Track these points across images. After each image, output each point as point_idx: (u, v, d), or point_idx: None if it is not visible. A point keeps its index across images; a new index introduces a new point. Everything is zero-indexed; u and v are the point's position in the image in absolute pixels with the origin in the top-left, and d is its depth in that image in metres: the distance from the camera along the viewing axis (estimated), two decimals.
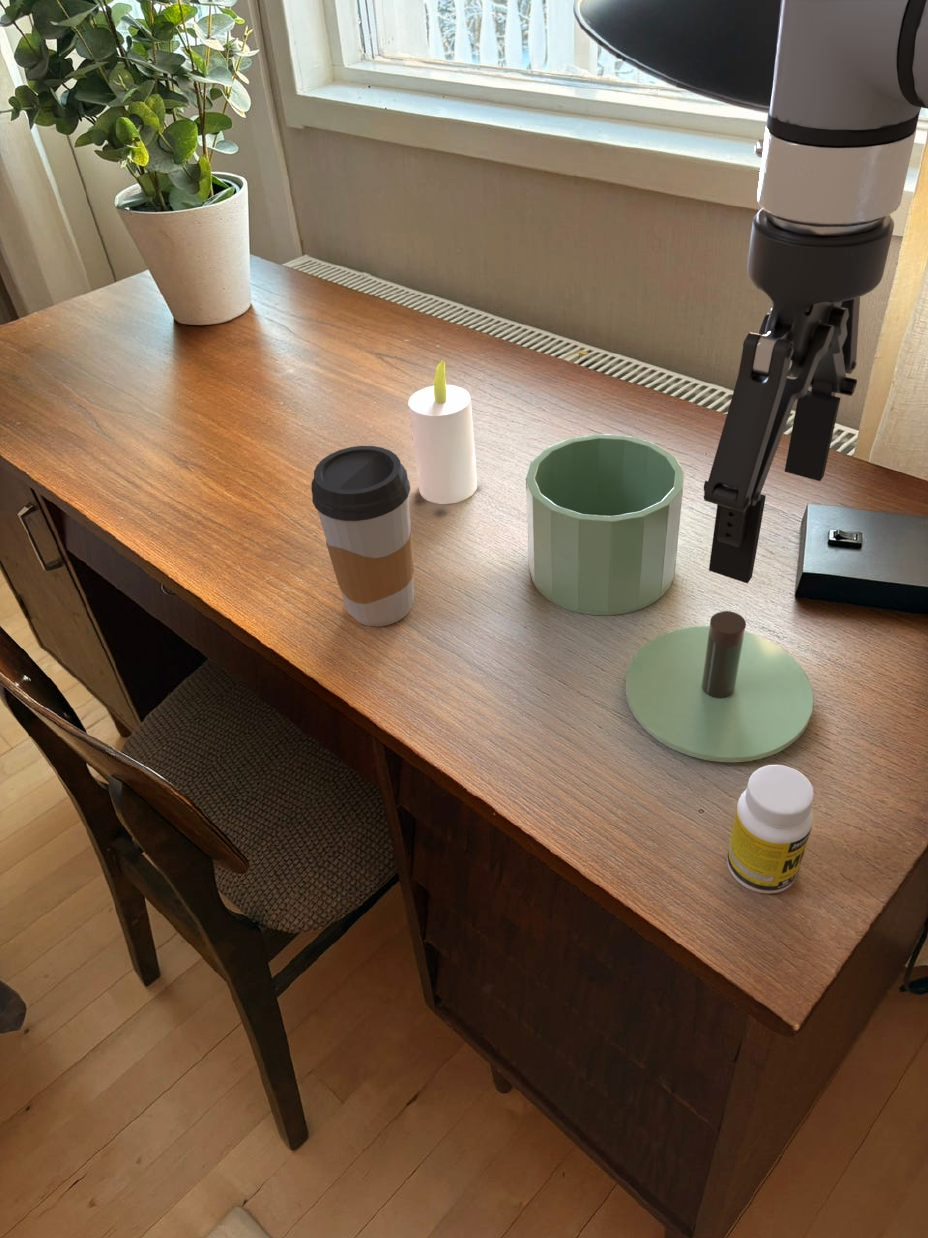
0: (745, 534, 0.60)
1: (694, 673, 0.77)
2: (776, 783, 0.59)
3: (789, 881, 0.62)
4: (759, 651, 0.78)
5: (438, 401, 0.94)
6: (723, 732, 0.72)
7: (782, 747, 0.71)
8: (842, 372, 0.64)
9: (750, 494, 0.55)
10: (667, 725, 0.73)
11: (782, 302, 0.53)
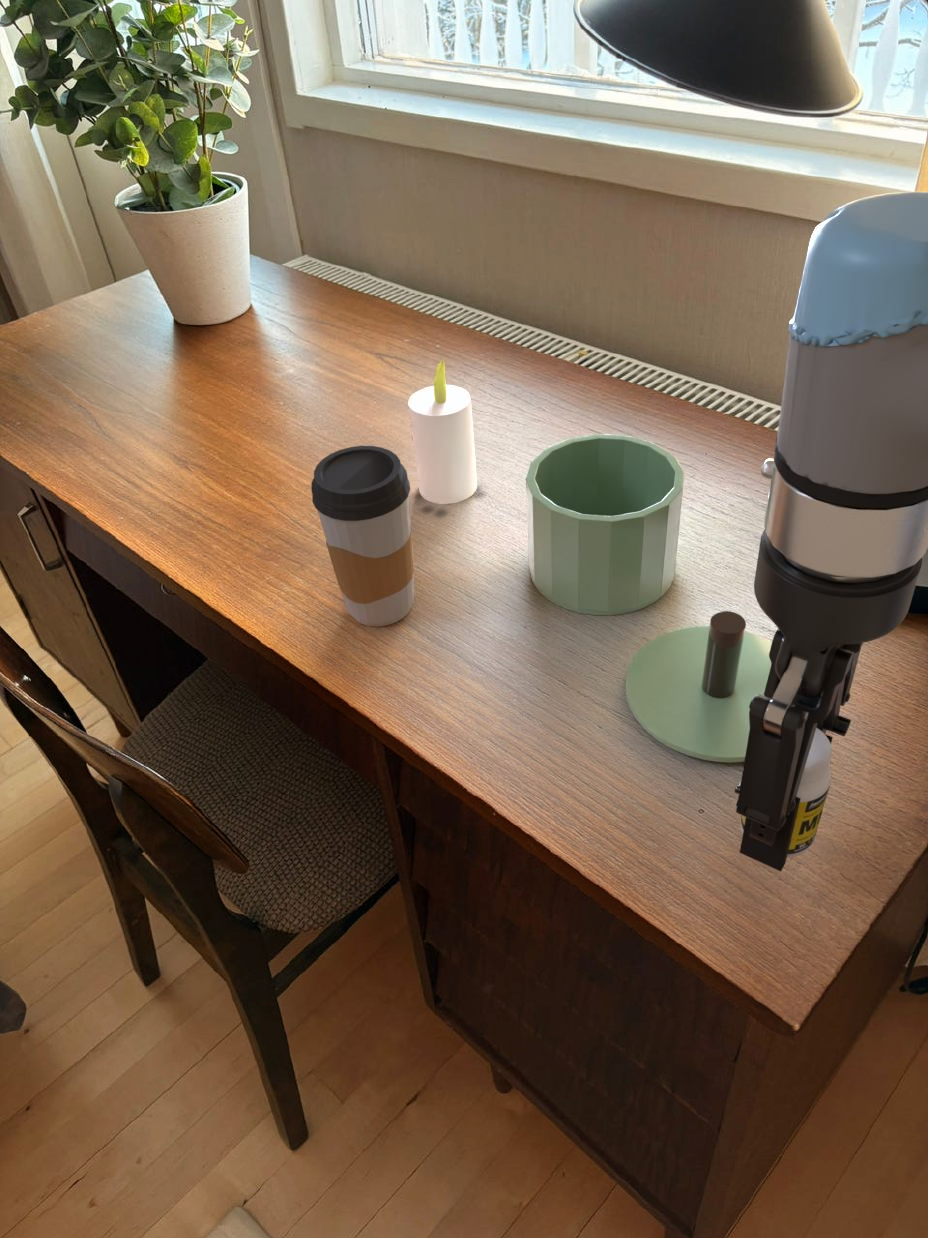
0: (779, 831, 0.57)
1: (694, 673, 0.77)
2: None
3: (807, 844, 0.59)
4: (759, 651, 0.78)
5: (438, 401, 0.94)
6: (723, 732, 0.72)
7: None
8: (838, 707, 0.57)
9: (784, 812, 0.52)
10: (667, 725, 0.73)
11: (795, 639, 0.47)
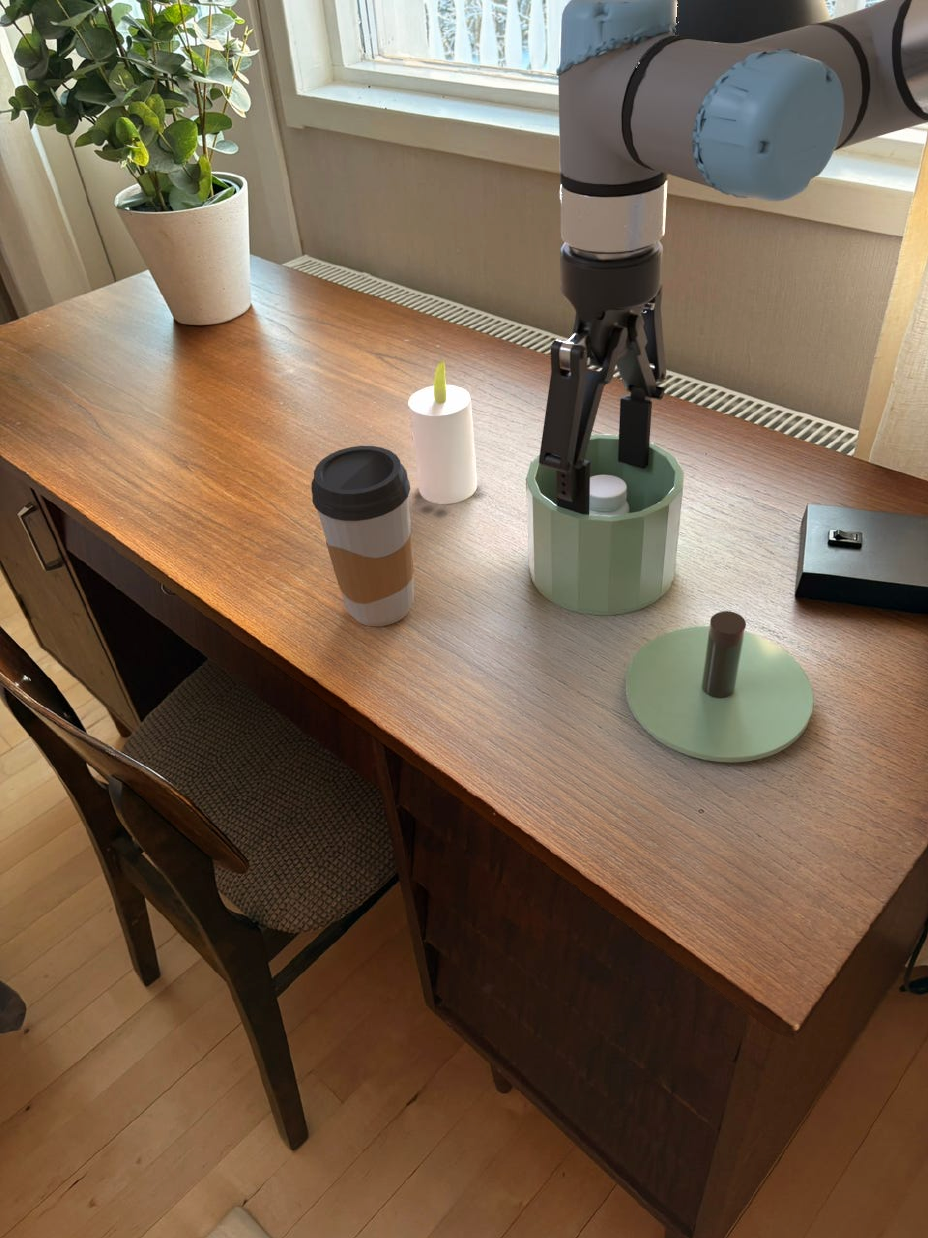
0: (578, 492, 0.78)
1: (694, 673, 0.77)
2: (602, 483, 0.84)
3: None
4: (759, 651, 0.78)
5: (438, 401, 0.94)
6: (723, 732, 0.72)
7: (782, 747, 0.71)
8: (651, 378, 0.81)
9: (571, 459, 0.73)
10: (667, 725, 0.73)
11: (581, 310, 0.70)
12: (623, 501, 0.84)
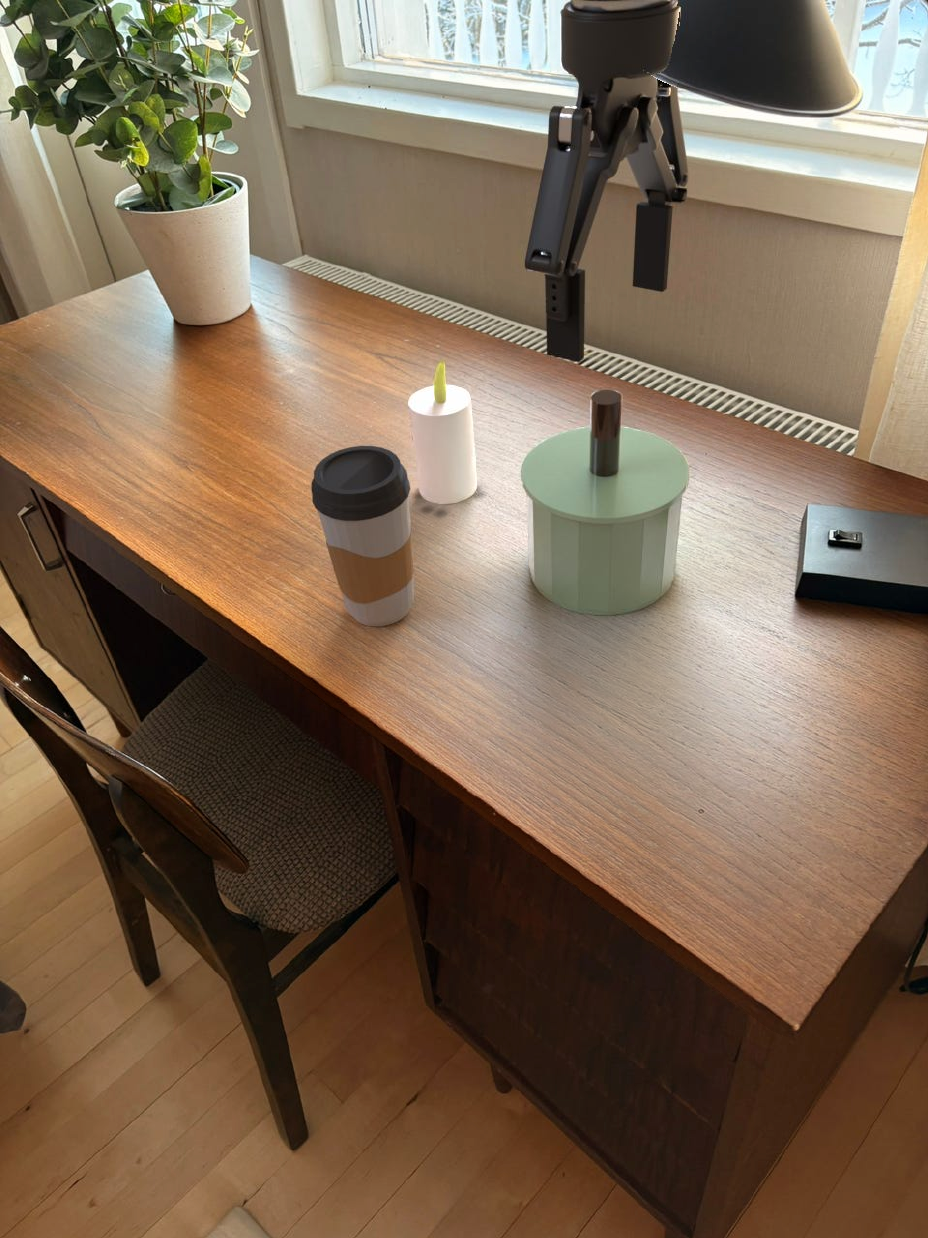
0: (571, 311, 0.66)
1: (583, 459, 0.84)
2: None
3: None
4: (645, 442, 0.85)
5: (438, 401, 0.94)
6: (604, 500, 0.79)
7: (656, 510, 0.78)
8: (670, 178, 0.71)
9: (563, 259, 0.62)
10: (554, 496, 0.80)
11: (585, 80, 0.60)
12: None
